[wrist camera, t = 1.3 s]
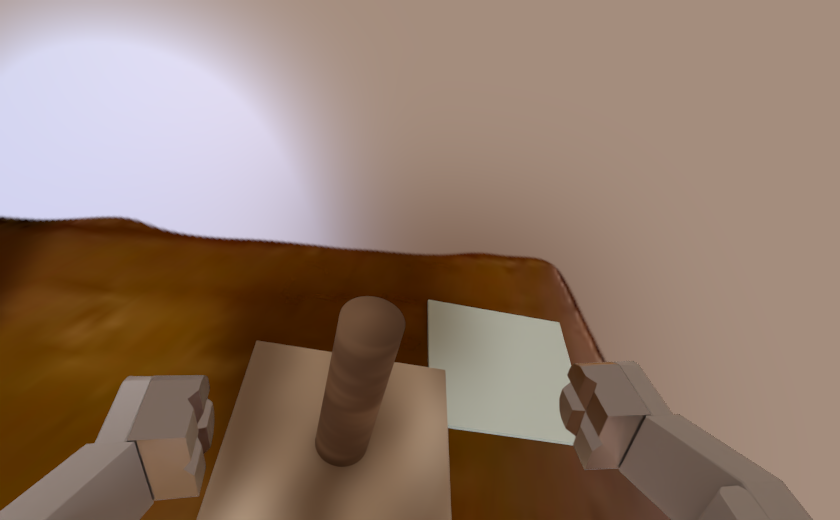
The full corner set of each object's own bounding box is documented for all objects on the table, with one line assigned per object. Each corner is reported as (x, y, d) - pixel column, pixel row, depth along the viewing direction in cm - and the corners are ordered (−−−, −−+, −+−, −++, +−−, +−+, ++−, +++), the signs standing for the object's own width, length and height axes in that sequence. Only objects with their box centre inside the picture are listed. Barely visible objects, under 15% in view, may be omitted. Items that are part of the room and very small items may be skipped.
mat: (428, 425, 41) (429, 422, 40) (427, 302, 52) (428, 299, 51) (591, 447, 43) (593, 445, 42) (557, 325, 53) (559, 322, 53)
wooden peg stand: (191, 592, 29) (170, 426, 18) (253, 391, 39) (263, 212, 29) (426, 613, 31) (528, 472, 20) (425, 415, 41) (493, 256, 31)
